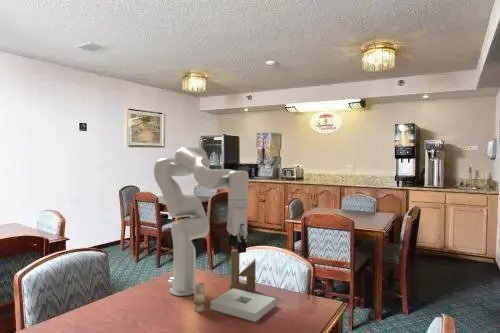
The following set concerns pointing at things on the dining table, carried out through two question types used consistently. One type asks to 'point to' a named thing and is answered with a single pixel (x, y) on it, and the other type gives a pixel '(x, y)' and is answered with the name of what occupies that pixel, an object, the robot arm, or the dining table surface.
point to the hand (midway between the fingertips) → (237, 249)
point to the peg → (199, 296)
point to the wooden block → (242, 274)
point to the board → (243, 304)
